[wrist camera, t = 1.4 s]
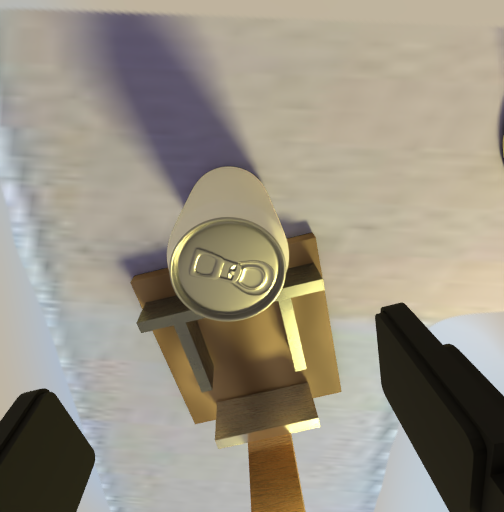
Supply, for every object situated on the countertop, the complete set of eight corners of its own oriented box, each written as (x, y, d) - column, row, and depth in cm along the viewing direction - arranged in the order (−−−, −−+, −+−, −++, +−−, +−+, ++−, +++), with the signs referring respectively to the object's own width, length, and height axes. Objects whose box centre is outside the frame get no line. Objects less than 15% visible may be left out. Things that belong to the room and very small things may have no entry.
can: (254, 251, 28) (268, 340, 17) (180, 230, 27) (147, 311, 16) (280, 180, 26) (316, 232, 15) (201, 153, 25) (177, 189, 14)
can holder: (313, 262, 28) (322, 279, 25) (327, 340, 31) (336, 362, 28) (145, 302, 28) (136, 323, 26) (177, 374, 32) (172, 399, 29)
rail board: (312, 232, 28) (315, 237, 27) (338, 383, 35) (341, 391, 34) (134, 275, 29) (130, 282, 27) (196, 414, 36) (195, 424, 35)
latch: (308, 382, 33) (372, 611, 18) (311, 398, 34) (375, 628, 19) (216, 402, 33) (205, 642, 18) (223, 418, 34) (216, 658, 19)
